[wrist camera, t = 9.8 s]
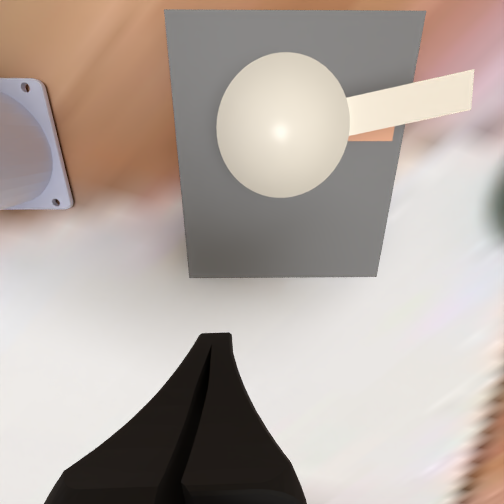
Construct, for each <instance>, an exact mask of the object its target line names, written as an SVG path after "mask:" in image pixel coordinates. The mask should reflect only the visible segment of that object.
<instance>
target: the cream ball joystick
mask: <svg viewBox="0 0 504 504" xmlns="http://www.w3.org/2000/svg"><path fill="white" fill-rule="evenodd" d="M473 79H474V69H473V70H468V71H464V72H459V73H455V74H450V75H446V76H441V77H437V78H432V79H428V80H424V81H419V82H415V83H410V84H406V85H401V86H397V87H392V88H388V89H383V90H379V91H374V92H370V93H365V94H361V95H356V96H352V97H347V98H346V96H345V94H344V91H343V89H342V87H341V85H340V83H339V82H338V80H337V79H336V77H335V76H334V75H333V74H332V72H330V71H329V70H328V69H327V68H326V67H325V66H324V65H323V64H321V63H320V62H318V61H317V60H315V59H313V58H311V57H309V56H306V55H303V54H299V53H292V52H279V53H273V54H269V55H266V56H263V57H261V58H259V59H257V60H255V61H253V62H251V63H250V64H248V65H247V66H246V67H244V68H243V69H242V70H241V71H240V72H239V73H238V74H237V75H236V76H235V78H234V79H233V80H232V81H231V83H230V84H229V86H228V87H227V89H226V91H225V93H224V95H223V97H222V100H221V103H220V106H219V110H218V115H217V125H216V130H217V140H218V146H219V149H220V153H221V156H222V158H223V160H224V162H225V164H226V166H227V168H228V169H229V171H230V172H231V173H232V175H233V176H234V177H235V178H236V179H237V180H238V181H239V182H240V183H241V184H243V185H244V186H245V187H246V188H248V189H250V190H252V191H253V192H256V193H258V194H261V195H264V196H268V197H275V198H287V197H293V196H297V195H301V194H303V193H306V192H308V191H310V190H312V189H313V188H315V187H317V186H318V185H319V184H321V183H322V182H323V181H324V180H325V179H326V178H327V177H328V176H329V175H330V174H331V173H332V172H333V171H334V169H335V168H336V166H337V165H338V163H339V162H340V160H341V158H342V156H343V154H344V151H345V148H346V145H347V141H348V137H349V136H351V135H356V134H360V133H365V132H370V131H374V130H379V129H384V128H388V127H393V126H398V125H402V124H407V123H412V122H416V121H421V120H426V119H430V118H435V117H440V116H444V115H449V114H454V113H458V112H463V111H468V110H471V103H472V91H473Z"/></svg>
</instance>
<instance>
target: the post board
mask: <svg viewBox="0 0 504 504" xmlns="http://www.w3.org/2000/svg"><path fill="white" fill-rule="evenodd" d="M164 14H165V25H166V35H167V46H168V56H169V67H170V77H171V88H172V98H173V109H174V120H175V130H176V141H177V151H178V162H179V172H180V183H181V193H182V204H183V214H184V225H185V236H186V246H187V257H188V267H189V278H267V277H376V276H377V271H378V265H379V260H380V255H381V249H382V244H383V239H384V233H385V228H386V223H387V217H388V212H389V207H390V201H391V196H392V191H393V185H394V180H395V175H396V169H397V164H398V159H399V153H400V148H401V143H402V137H403V132H404V127H405V124H402V125H398V126H393V127H388V128H384V129H379V130H374V131H370V132H365V133H360V134H356V135H351V136H349V137H348V141H347V145H346V148H345V151H344V154H343V156H342V158H341V160H340V162H339V163H338V165H337V166H336V168H335V169H334V171H333V172H332V173H331V174H330V175H329V176H328V177H327V178H326V179H325V180H324V181H323V182H322V183H321V184H319V185H318V186H317V187H315V188H313V189H312V190H310V191H308V192H306V193H303V194H301V195H297V196H293V197H287V198H275V197H268V196H264V195H261V194H258V193H256V192H253V191H252V190H250V189H248V188H246V187H245V186H244V185H243V184H241V183H240V182H239V181H238V180H237V179H236V178H235V177H234V176H233V175H232V173H231V172H230V171H229V169H228V168H227V166H226V164H225V162H224V160H223V158H222V156H221V153H220V149H219V146H218V140H217V130H216V125H217V115H218V110H219V106H220V103H221V100H222V97H223V95H224V93H225V91H226V89H227V87H228V86H229V84H230V83H231V81H232V80H233V79H234V78H235V76H236V75H237V74H238V73H239V72H240V71H241V70H242V69H243V68H244V67H246V66H247V65H248V64H250V63H251V62H253V61H255V60H257V59H259V58H261V57H263V56H266V55H269V54H273V53H279V52H292V53H299V54H303V55H306V56H309V57H311V58H313V59H315V60H317V61H318V62H320V63H321V64H323V65H324V66H325V67H326V68H327V69H328V70H329V71H330V72H332V74H333V75H334V76H335V77H336V79H337V80H338V82H339V83H340V85H341V87H342V89H343V91H344V94H345V96H346V98H347V97H352V96H356V95H361V94H365V93H370V92H374V91H379V90H383V89H388V88H392V87H397V86H401V85H406V84H410V83H413V79H414V73H415V68H416V63H417V57H418V52H419V47H420V41H421V36H422V31H423V26H424V20H425V15H426V11H354V10H164Z"/></svg>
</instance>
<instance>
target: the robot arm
mask: <svg viewBox="0 0 504 504" xmlns="http://www.w3.org/2000/svg"><path fill="white" fill-rule="evenodd" d="M26 84H28V85H29V87H30V91H29V92H27V90H26V87H25V86H26ZM56 199H57V200H59V202H60V205H58V204H57V203H56ZM72 206H73V198H72V194H71V190H70V186H69V182H68V178H67V174H66V170H65V166H64V161H63V157H62V153H61V149H60V145H59V141H58V137H57V133H56V128H55V124H54V120H53V116H52V112H51V108H50V104H49V100H48V95H47V91H46V88H45V85H44V84H43V83H42V82H41V81H40V80H38V79H34V78H0V210H36V209H69V208H71V207H72ZM44 504H307V503H306V499H305V496H304V493H303V490H302V487H301V485H300V482H299V480H298V478H297V475H296V473H295V471H294V468H293V466H292V464H291V462H290V460H289V459H288V458H287V457H286V455H285V454H284V453H283V451H282V450H281V449H280V447H279V446H278V445H277V443H276V442H275V440H274V439H273V437H272V436H271V434H270V433H269V431H268V430H267V428H266V426H265V425H264V423H263V421H262V420H261V418H260V417H259V415H258V413H257V411H256V410H255V408H254V406H253V404H252V402H251V400H250V398H249V396H248V394H247V391H246V389H245V387H244V385H243V382H242V379H241V377H240V374H239V371H238V368H237V365H236V362H235V359H234V355H233V346H232V335H231V334H230V333H202V334H200V335H199V337H198V339H197V340H196V342H195V344H194V345H193V347H192V348H191V350H190V351H189V353H188V354H187V356H186V357H185V359H184V360H183V361H182V363H181V364H180V366H179V367H178V368H177V370H176V371H175V372H174V373H173V375H172V376H171V377H170V378H169V380H168V381H167V382H166V383H165V385H164V386H163V387H162V388H161V389H160V390H159V392H158V393H157V394H156V395H155V396H154V397H153V398H152V399H151V400H150V401H149V402H148V403H147V404H146V405H145V406H144V407H143V408H142V409H141V410H140V411H139V412H138V413H137V414H136V415H135V416H134V417H133V418H132V419H131V420H130V421H129V422H128V423H126V424H125V425H124V426H123V427H122V428H121V429H119V430H118V431H117V432H116V433H115V434H113V435H112V436H111V437H110V438H109V439H107V440H106V441H105V442H104V443H102V444H101V445H100V446H98V447H97V448H96V449H95V450H93V451H92V452H90V453H89V454H87V455H86V456H85V457H83V458H82V459H80V460H79V461H78V462H76V463H75V464H73V465H72V466H71V467H69V468H68V469H66V470H65V471H64V472H63V473H62V475H61V477H60V478H59V480H58V481H57V483H56V484H55V486H54V487H53V489H52V491H51V492H50V494H49V496H48V497H47V499H46V501H45V503H44Z"/></svg>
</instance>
